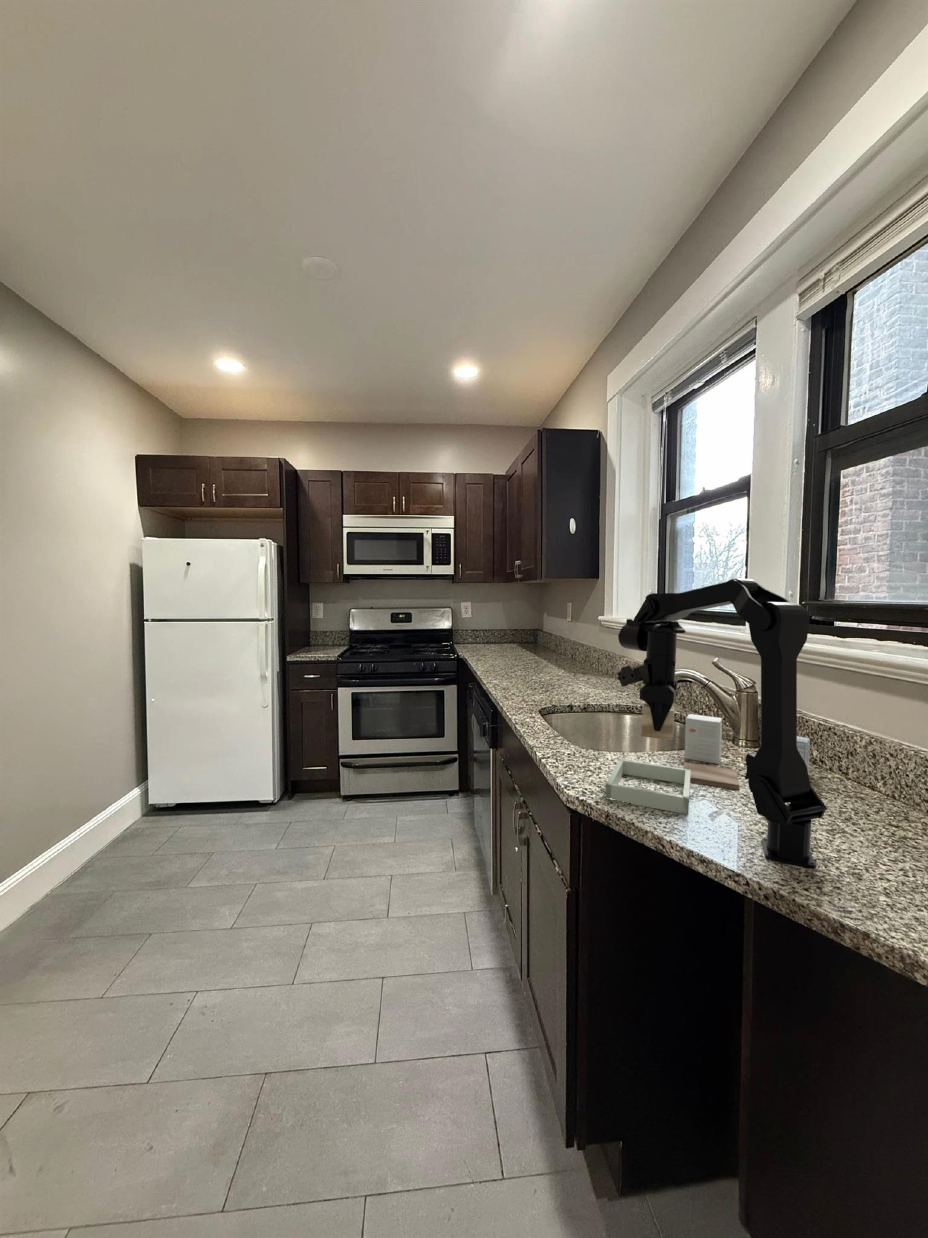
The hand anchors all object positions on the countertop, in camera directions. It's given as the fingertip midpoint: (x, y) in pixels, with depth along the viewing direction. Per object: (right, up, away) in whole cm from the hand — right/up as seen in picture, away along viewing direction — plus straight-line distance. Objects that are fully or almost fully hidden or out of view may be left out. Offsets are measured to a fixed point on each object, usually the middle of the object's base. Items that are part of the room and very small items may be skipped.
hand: (658, 728), depth 105 cm
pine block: (0, -2, 0) cm, 2 cm away
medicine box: (+35, -14, +13) cm, 40 cm away
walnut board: (+15, -13, +9) cm, 22 cm away
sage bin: (-2, -13, 0) cm, 13 cm away
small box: (+20, -13, +23) cm, 33 cm away
